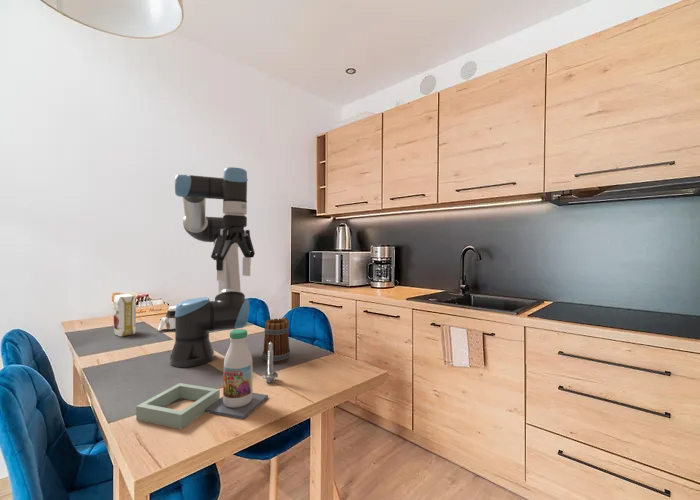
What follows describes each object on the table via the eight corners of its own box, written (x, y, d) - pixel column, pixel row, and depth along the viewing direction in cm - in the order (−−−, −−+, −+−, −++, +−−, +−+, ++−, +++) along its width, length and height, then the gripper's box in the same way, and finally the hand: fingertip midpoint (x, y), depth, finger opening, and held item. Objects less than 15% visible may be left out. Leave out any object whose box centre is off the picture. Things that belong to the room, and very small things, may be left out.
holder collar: (136, 419, 81) (136, 406, 81) (179, 394, 94) (179, 382, 94) (181, 429, 77) (181, 414, 77) (219, 401, 91) (219, 389, 90)
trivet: (204, 412, 85) (204, 409, 85) (232, 392, 96) (232, 389, 96) (243, 419, 82) (243, 416, 82) (267, 397, 93) (267, 395, 93)
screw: (277, 377, 107) (278, 383, 102) (262, 379, 106) (262, 385, 101) (277, 339, 107) (278, 343, 102) (262, 340, 105) (263, 345, 101)
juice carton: (130, 330, 160) (130, 293, 160) (137, 333, 155) (137, 295, 154) (112, 334, 154) (112, 295, 153) (119, 337, 149) (119, 297, 148)
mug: (283, 365, 118) (284, 325, 117) (257, 362, 120) (257, 323, 120) (298, 351, 133) (299, 315, 133) (275, 349, 135) (275, 314, 135)
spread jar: (188, 329, 164) (188, 306, 164) (166, 334, 155) (166, 310, 155) (175, 325, 171) (176, 304, 171) (153, 330, 161) (153, 307, 161)
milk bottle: (227, 395, 92) (228, 327, 92) (254, 394, 93) (255, 327, 93) (219, 409, 85) (219, 334, 84) (248, 408, 85) (249, 334, 85)
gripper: (219, 212, 93) (219, 283, 94) (264, 217, 117) (264, 274, 118) (198, 212, 95) (198, 282, 96) (247, 217, 119) (246, 273, 120)
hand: (234, 278), depth 107 cm, fingers open, 13 cm apart
